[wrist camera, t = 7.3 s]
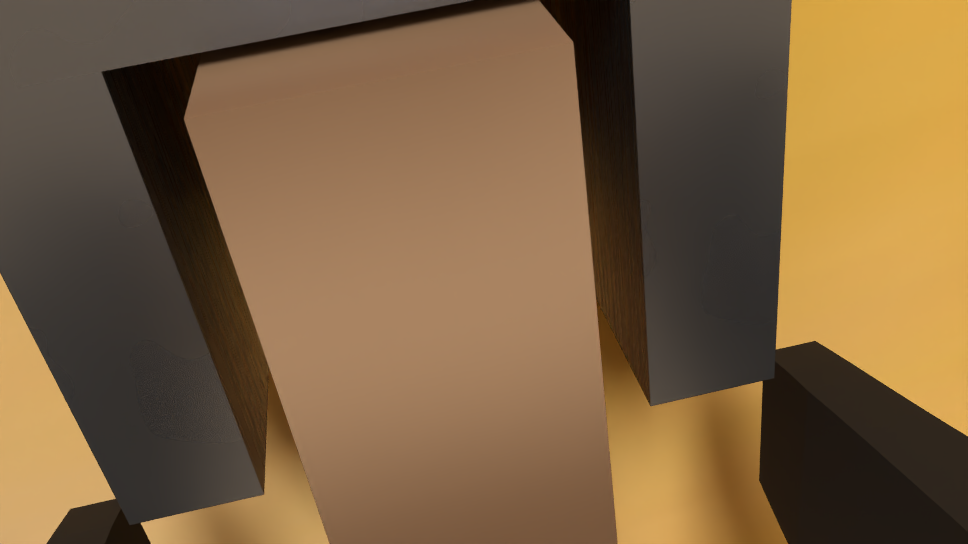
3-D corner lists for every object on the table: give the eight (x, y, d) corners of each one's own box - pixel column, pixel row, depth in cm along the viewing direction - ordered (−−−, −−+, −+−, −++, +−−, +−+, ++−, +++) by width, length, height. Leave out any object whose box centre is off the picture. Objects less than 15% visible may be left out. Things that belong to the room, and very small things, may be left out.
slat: (548, 528, 15) (643, 841, 11) (406, 562, 15) (448, 892, 11) (455, -102, 10) (573, 42, 6) (232, -61, 10) (182, 119, 5)
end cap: (638, 188, 12) (774, 378, 9) (178, 284, 11) (129, 524, 8) (615, -274, 9) (802, -260, 6) (1, -167, 9) (-183, -85, 5)
